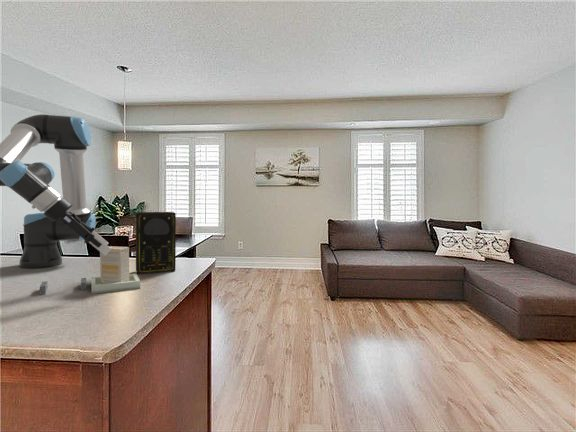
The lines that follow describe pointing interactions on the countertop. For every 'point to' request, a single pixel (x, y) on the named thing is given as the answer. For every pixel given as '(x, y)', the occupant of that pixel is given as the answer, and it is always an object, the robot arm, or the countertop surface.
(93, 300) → the countertop surface
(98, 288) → the tray
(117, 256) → the supplement box
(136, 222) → the voltmeter
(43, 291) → the grey small blocks
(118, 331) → the countertop surface
